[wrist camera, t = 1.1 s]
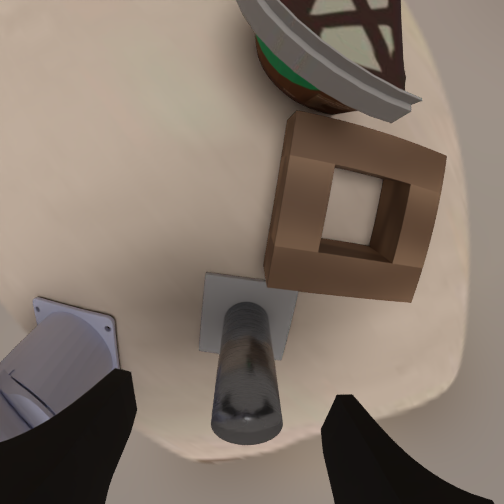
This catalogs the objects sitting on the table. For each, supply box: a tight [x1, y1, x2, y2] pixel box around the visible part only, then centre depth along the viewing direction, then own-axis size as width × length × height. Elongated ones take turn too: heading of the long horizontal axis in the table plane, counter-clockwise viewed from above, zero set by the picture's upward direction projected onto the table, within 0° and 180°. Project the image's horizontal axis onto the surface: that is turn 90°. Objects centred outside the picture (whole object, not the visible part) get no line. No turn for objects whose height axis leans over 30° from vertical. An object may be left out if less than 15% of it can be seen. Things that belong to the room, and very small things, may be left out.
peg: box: [211, 302, 283, 445], centre depth 15 cm, size 3×3×9 cm
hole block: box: [263, 110, 447, 303], centre depth 16 cm, size 9×9×4 cm
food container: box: [236, 0, 422, 123], centre depth 10 cm, size 12×6×10 cm, turn 176°
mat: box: [199, 272, 298, 360], centre depth 19 cm, size 6×6×1 cm
